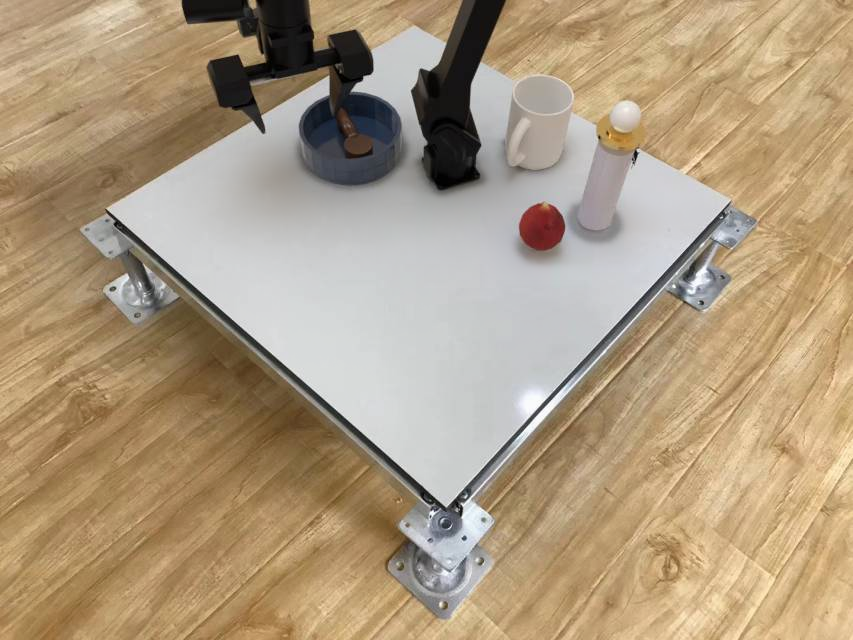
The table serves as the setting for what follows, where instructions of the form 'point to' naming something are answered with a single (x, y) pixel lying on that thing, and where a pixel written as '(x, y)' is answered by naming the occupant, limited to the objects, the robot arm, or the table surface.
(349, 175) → the bowl
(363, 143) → the ladle
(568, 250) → the table surface
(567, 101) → the mug
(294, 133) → the table surface
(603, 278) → the table surface
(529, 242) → the onion
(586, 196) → the perfume bottle
